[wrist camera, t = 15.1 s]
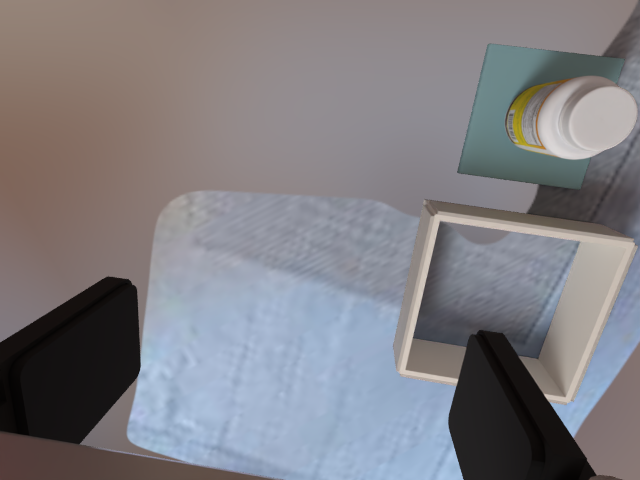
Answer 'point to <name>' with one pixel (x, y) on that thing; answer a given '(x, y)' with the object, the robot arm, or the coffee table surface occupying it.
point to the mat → (497, 94)
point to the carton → (569, 318)
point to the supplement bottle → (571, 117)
